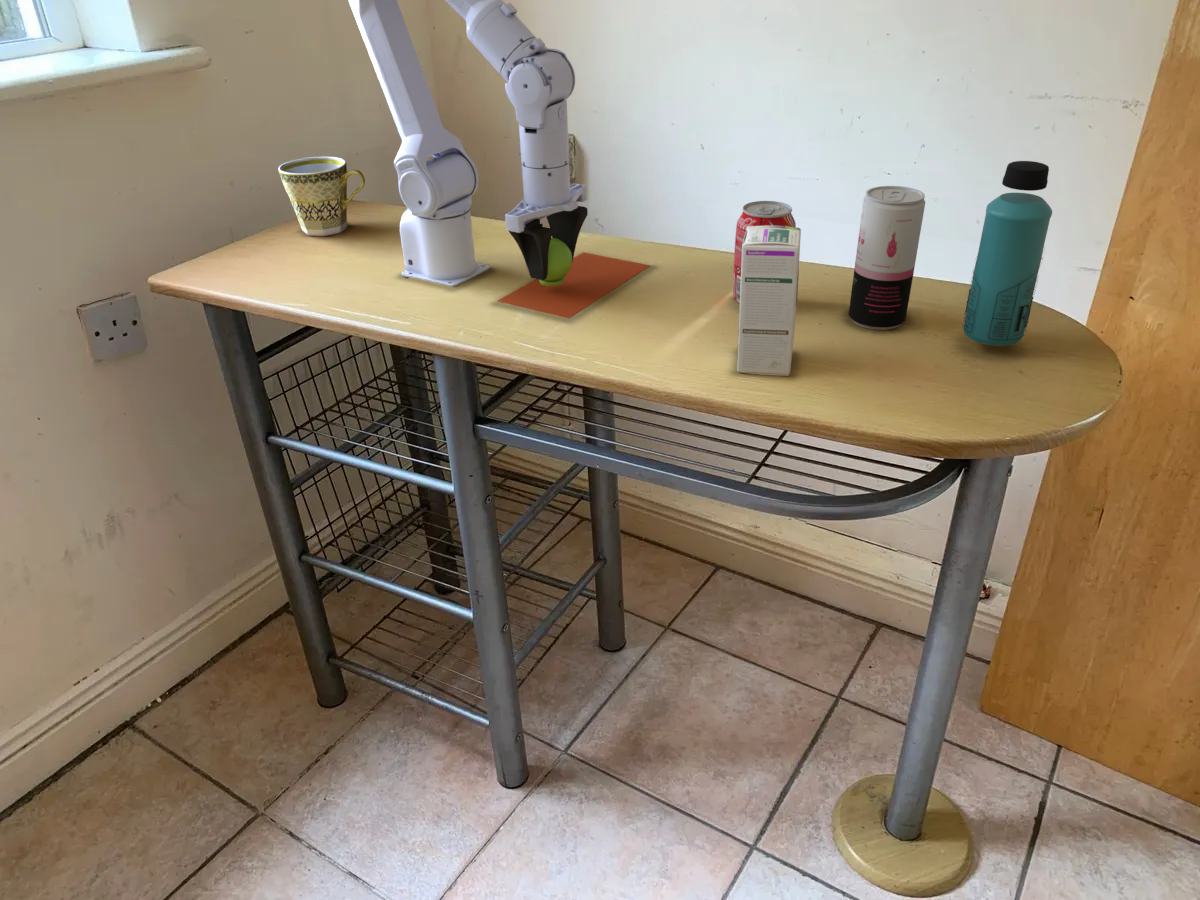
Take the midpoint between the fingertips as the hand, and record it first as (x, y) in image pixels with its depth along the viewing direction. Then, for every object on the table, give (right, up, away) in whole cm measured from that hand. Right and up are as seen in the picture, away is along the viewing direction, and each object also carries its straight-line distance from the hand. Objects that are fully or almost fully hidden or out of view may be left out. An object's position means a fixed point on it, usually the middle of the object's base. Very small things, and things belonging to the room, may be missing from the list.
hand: (551, 270), depth 114 cm
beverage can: (+39, -8, -8) cm, 41 cm away
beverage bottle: (+50, -11, -14) cm, 53 cm away
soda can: (+26, -5, -3) cm, 27 cm away
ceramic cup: (-36, +12, +26) cm, 46 cm away
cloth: (+3, -1, +4) cm, 5 cm away
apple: (0, -1, +1) cm, 1 cm away
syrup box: (+24, -14, -16) cm, 32 cm away
